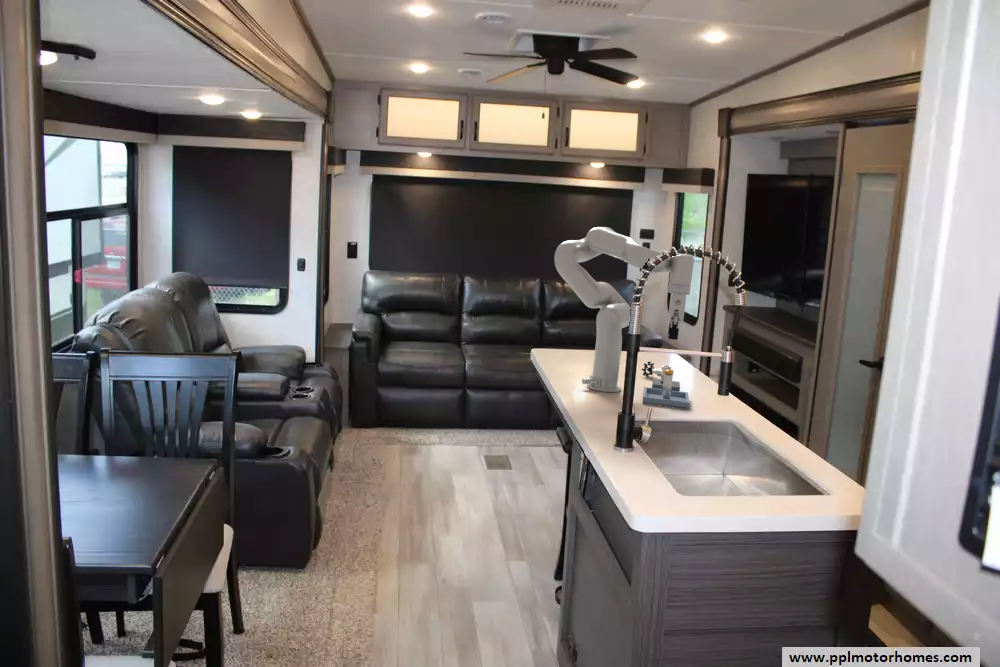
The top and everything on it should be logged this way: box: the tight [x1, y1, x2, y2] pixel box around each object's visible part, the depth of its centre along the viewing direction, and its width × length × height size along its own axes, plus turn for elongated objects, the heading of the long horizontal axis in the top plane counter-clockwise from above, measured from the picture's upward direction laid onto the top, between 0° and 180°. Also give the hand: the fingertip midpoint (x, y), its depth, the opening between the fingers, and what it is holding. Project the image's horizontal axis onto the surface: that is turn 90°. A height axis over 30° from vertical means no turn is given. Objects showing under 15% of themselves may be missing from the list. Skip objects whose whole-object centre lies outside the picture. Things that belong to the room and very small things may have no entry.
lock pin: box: [662, 369, 674, 400], centre depth 300 cm, size 3×3×11 cm
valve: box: [641, 360, 672, 380], centre depth 335 cm, size 7×7×12 cm
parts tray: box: [641, 386, 690, 410], centre depth 301 cm, size 16×16×2 cm
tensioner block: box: [651, 378, 681, 392], centre depth 315 cm, size 10×10×4 cm
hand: (672, 336), depth 297 cm, fingers open, 9 cm apart
